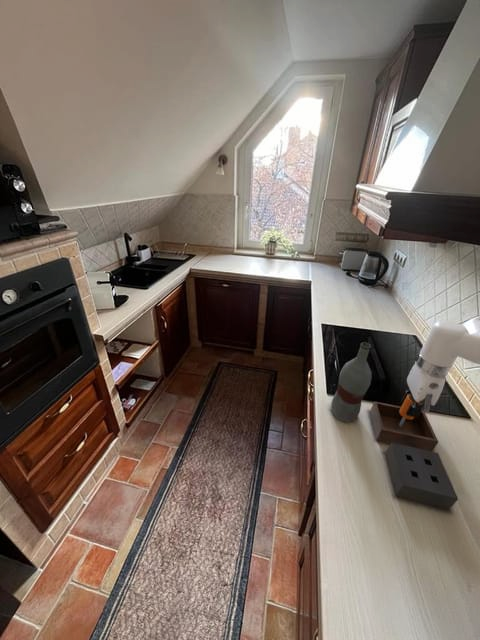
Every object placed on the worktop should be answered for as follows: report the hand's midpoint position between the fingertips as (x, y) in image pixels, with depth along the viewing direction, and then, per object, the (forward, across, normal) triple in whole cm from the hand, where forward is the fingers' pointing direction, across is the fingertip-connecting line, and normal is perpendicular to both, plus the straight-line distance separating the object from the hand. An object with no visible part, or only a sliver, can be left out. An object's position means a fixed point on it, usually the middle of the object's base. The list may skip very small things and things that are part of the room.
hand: (409, 409), depth 79 cm
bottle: (+11, +3, +17) cm, 20 cm away
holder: (+11, -16, 0) cm, 19 cm away
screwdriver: (+8, 0, 0) cm, 8 cm away
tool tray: (+11, 0, 0) cm, 11 cm away
